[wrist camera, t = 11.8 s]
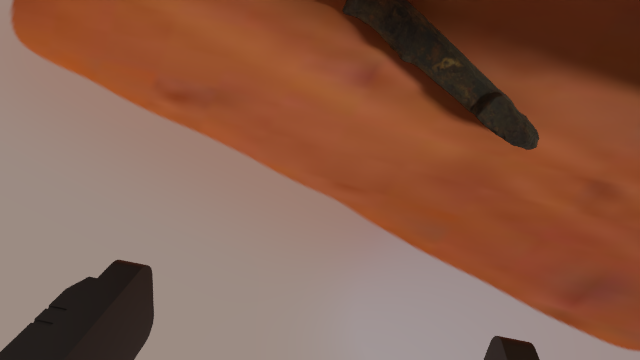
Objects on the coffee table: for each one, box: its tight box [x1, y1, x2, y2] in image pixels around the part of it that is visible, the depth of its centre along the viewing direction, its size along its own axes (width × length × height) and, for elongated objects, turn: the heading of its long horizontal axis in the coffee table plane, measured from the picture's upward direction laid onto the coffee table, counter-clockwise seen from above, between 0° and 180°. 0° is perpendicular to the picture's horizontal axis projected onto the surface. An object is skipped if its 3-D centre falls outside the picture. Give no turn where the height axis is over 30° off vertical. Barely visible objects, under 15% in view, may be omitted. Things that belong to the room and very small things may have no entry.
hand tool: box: [343, 0, 539, 150], centre depth 35 cm, size 19×4×5 cm, turn 49°
